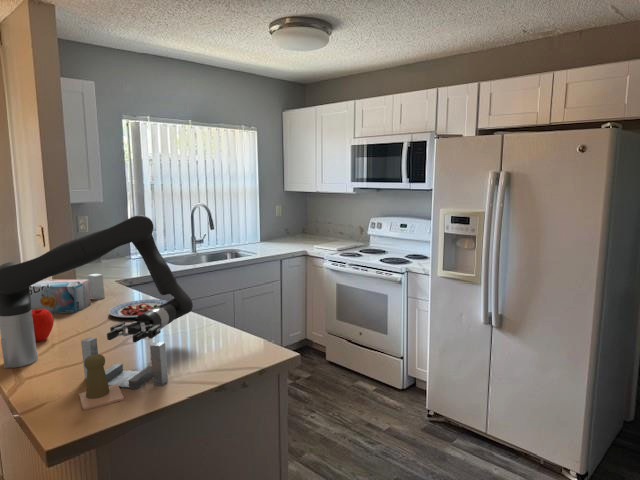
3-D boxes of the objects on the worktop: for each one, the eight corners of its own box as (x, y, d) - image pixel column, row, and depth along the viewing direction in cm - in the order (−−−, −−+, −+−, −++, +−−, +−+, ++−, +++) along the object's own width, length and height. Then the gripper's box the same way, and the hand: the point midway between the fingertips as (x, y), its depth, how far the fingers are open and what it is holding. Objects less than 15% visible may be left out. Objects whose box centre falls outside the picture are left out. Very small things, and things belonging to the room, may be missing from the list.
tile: (83, 410, 121) (83, 408, 121) (79, 395, 129) (79, 393, 129) (124, 399, 126) (123, 397, 126) (117, 385, 135) (117, 383, 135)
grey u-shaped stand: (99, 369, 146) (95, 333, 144) (174, 375, 141) (171, 338, 139) (76, 383, 137) (72, 345, 135) (155, 391, 131) (152, 350, 129)
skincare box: (105, 297, 231) (103, 274, 229) (97, 300, 227) (94, 276, 225) (98, 296, 234) (95, 273, 232) (90, 298, 230) (87, 274, 228)
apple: (51, 333, 181) (47, 303, 179) (58, 339, 174) (55, 308, 172) (21, 340, 174) (17, 308, 172) (28, 346, 167) (24, 314, 165)
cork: (103, 386, 133) (100, 350, 132) (113, 392, 129) (110, 355, 128) (82, 394, 129) (78, 356, 127) (91, 400, 125) (87, 362, 123)
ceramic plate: (108, 325, 190) (108, 318, 189) (109, 308, 213) (109, 302, 213) (174, 316, 200) (173, 309, 199) (168, 301, 223) (168, 295, 223)
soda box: (-12, 314, 209) (-16, 286, 207) (10, 305, 223) (7, 278, 221) (76, 313, 207) (73, 285, 205) (92, 304, 220) (90, 278, 218)
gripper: (132, 308, 153) (98, 324, 137) (171, 311, 150) (141, 327, 134) (133, 330, 154) (100, 348, 138) (172, 333, 151) (143, 352, 135)
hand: (120, 338), depth 136 cm, fingers open, 8 cm apart
